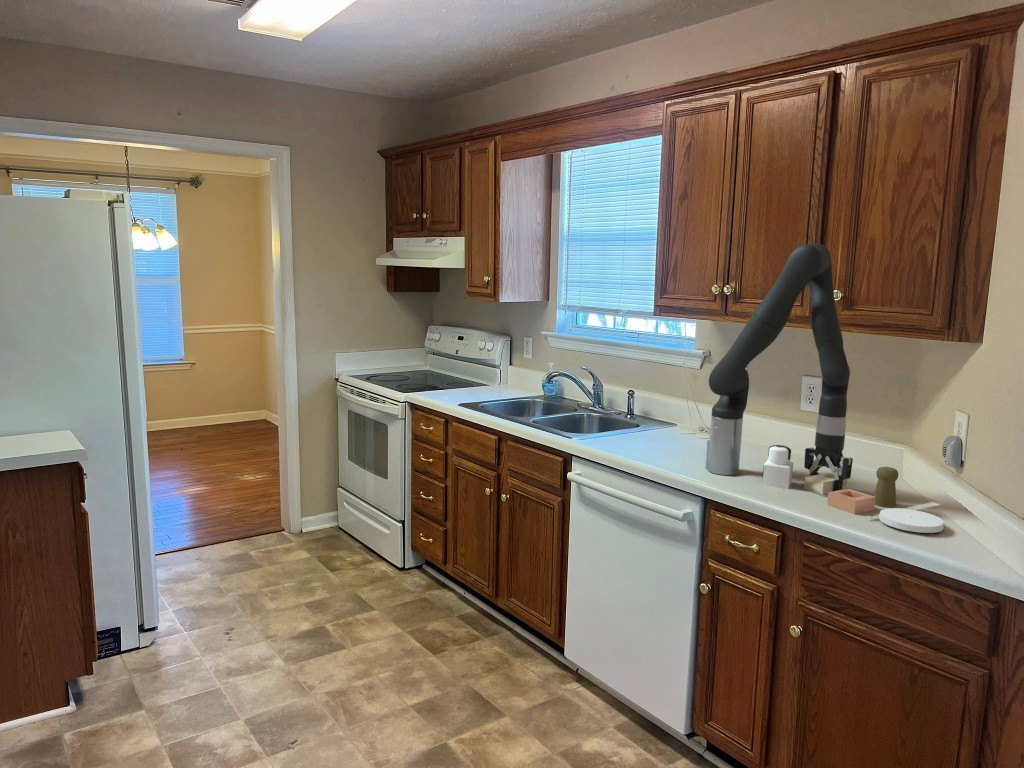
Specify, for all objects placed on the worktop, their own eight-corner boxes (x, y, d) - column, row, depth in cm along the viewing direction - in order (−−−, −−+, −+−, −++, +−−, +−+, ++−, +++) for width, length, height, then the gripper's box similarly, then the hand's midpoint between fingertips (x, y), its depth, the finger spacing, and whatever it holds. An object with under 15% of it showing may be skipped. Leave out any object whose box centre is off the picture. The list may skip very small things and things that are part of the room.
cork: (888, 504, 201) (893, 464, 199) (901, 511, 195) (905, 470, 193) (866, 504, 201) (870, 464, 199) (878, 511, 195) (882, 470, 193)
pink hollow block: (826, 508, 196) (828, 492, 195) (846, 504, 200) (848, 488, 199) (853, 517, 189) (855, 500, 188) (873, 513, 193) (875, 496, 192)
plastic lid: (882, 532, 180) (883, 522, 179) (875, 514, 193) (876, 505, 193) (948, 540, 175) (949, 529, 175) (936, 522, 188) (937, 512, 188)
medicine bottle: (765, 482, 220) (769, 442, 218) (791, 486, 216) (795, 445, 215) (761, 488, 213) (765, 447, 212) (788, 492, 210) (791, 450, 208)
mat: (792, 489, 212) (793, 486, 212) (821, 484, 218) (821, 481, 218) (828, 501, 202) (829, 498, 202) (857, 496, 208) (857, 492, 208)
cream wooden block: (804, 488, 210) (805, 476, 210) (827, 484, 215) (828, 472, 214) (822, 494, 205) (823, 482, 204) (846, 490, 210) (847, 478, 209)
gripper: (800, 427, 212) (795, 483, 214) (844, 437, 199) (838, 497, 202) (817, 425, 215) (812, 480, 218) (862, 435, 203) (856, 494, 206)
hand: (825, 488), depth 210 cm, fingers open, 7 cm apart
